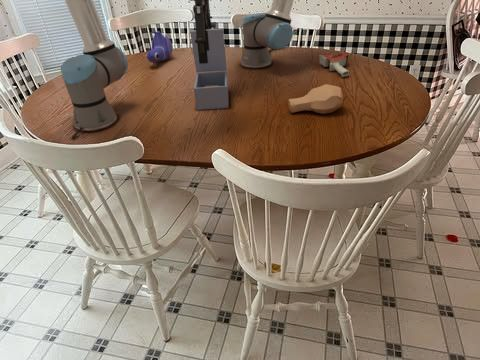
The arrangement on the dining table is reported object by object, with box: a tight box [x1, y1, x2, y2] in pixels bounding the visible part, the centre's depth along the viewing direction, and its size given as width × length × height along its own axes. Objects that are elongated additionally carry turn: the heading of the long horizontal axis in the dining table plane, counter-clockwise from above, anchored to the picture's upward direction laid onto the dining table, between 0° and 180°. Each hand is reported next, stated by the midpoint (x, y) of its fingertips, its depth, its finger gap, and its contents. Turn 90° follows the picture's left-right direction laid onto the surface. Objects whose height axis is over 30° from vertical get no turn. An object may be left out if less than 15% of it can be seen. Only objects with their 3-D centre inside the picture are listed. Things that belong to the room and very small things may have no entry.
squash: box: [287, 83, 344, 115], centre depth 129 cm, size 11×20×9 cm, turn 92°
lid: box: [189, 21, 228, 73], centre depth 142 cm, size 18×12×9 cm
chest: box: [193, 70, 229, 111], centre depth 142 cm, size 17×12×9 cm
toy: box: [145, 30, 174, 68], centre depth 184 cm, size 10×17×25 cm
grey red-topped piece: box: [318, 51, 350, 78], centre depth 164 cm, size 18×5×20 cm
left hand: (204, 56), depth 118 cm, fingers open, 13 cm apart
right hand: (208, 37), depth 141 cm, fingers closed on lid, 2 cm apart
